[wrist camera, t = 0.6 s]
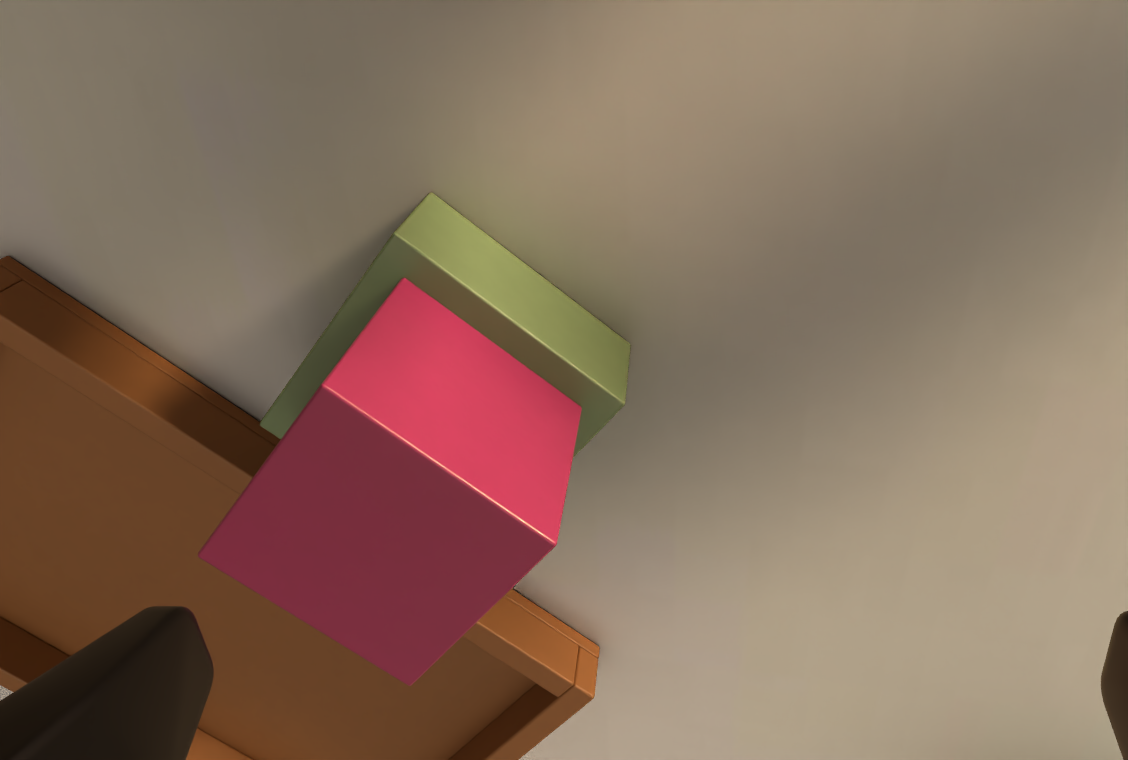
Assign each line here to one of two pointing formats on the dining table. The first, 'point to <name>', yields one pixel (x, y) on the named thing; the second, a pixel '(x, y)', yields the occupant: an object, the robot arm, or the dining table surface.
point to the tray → (180, 578)
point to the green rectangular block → (476, 317)
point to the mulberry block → (405, 489)
